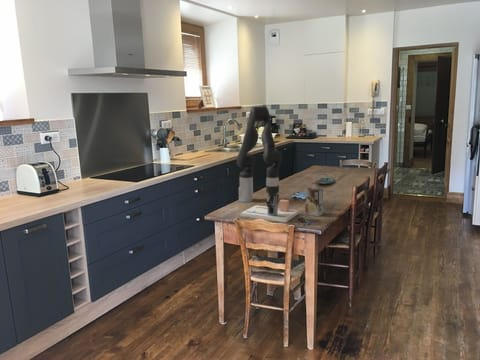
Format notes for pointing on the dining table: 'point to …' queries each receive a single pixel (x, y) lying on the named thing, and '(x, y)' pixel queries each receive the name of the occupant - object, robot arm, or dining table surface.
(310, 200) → the coffee box
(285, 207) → the block
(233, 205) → the dining table surface
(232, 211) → the dining table surface
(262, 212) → the console
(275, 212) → the slate fader
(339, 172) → the dining table surface
